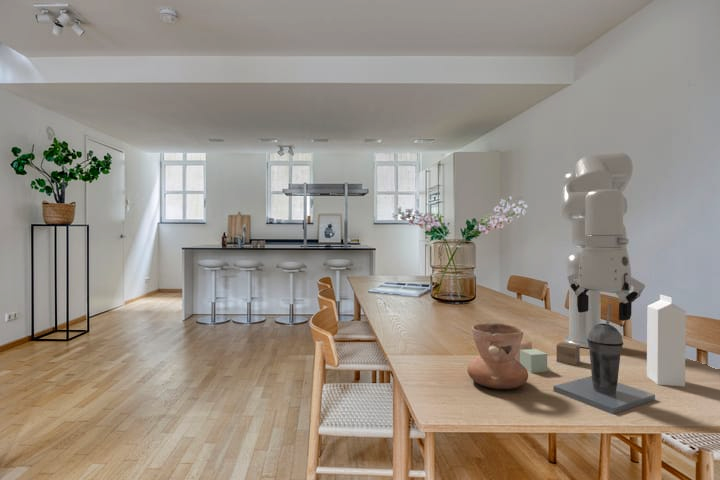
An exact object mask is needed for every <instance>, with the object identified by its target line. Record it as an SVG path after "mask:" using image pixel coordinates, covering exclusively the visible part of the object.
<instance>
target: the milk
mask: <svg viewBox="0 0 720 480" xmlns="http://www.w3.org/2000/svg"><path fill="white" fill-rule="evenodd" d="M646 311H647V312H646V315H647V316H646V320H647V321H646V325H647V326H646V328H647V329H646V377H647V378H648V379H649V380H651V381H652V382H654V383H655V384H656V385H658V386H673V387H681V388H682V387H683V388H684V387H686V325H687V324H686V323H687V322H686V321H687V320H686V317H687V316H686V315H687V313H686V310H685V309H683V308H681V307H680V306H677V305H676V304H673V298H672V296H668V295H664V294H661V293H660V294H659V300H657V301H655V302H653V303H651V304H648V305H647V308H646Z"/></svg>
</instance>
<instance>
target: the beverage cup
mask: <svg viewBox="0 0 720 480" xmlns="http://www.w3.org/2000/svg"><path fill="white" fill-rule="evenodd" d="M611 307H612V305H611V304H608V307H607V314H606V315H607V316H606V322H605V323H601V324H597V325H595V326H594V327H592V328H591V329H590V331H589V333H588V338H587V341H588V347H589V348H588V350H589V360H590V371H591V376H592V383H593V389H594V391H596V392H598V393H602V394H608V395H613V394H616V388H617V383H619V382H618V380H619V371H620V363H621V362H620V361H621V354H622V351H623V345H624V342H623V341H624V340H623V337H622V335H621V333H620V331H619V330H618V329H617V328H616V327H614V325H611V324H610V319H611V318H610V316H611V311H612V310H611Z"/></svg>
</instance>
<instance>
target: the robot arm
mask: <svg viewBox="0 0 720 480" xmlns="http://www.w3.org/2000/svg"><path fill="white" fill-rule="evenodd" d="M633 165H634V164H633V161H632V159H631V157H630V156H629V155H628V154H626V153H624V152H614V153H613V152H612V153H600V154H590V155H586V156H583V157H581V158H580V159H579V160H578V161H577V162H576V164H575V167H574V170H573V171H569V172H567V173H566V174H565V175H564V176H563V177H564V178H563V188H562V189H561V195H560V209H561V215H562V217H563V218H564V219H565V221H569V222H571V225H570V226H571V234H570V235H571V242H572V245H573V246H574V247H575V248H579V249H581V252H574V253H572V254H570V255H569V256H568V257H567V259H566V263H565V264H566V270H567V271H566V272H567V281H568V293H569V294H568V297H569V298H568V300H569V301H568V304H569V305H568V307H569V308H568V327H569V328H568V335H567V336H565V337H564V338H563V342H565V343H571V344H577V345H580V348H584V349H585V348H586V349H589V347H588V341H587V338H588V333H589V331H590V329H591V328H592V327H594V326H595V325H597V324H602V323H601V322H602V321H601V320H602V319H601V315H602V314H601V310H602V309H601V308H602V306H601V303H602V301H601V299H602V298H601V297H602V296H601V295H602V294H601V292H602V293H609V294H616V296H617V297H618V299H619V300H620V301H621V302H619V303H618V320H619V321H622V322H625V321H628V320H630V319H631V317H632V310H633V309H632V303H634V302H635V300H637V299H638V298H639V297H640V296H641V294H642V293H643V291H644V289H645V288H646V285H645V284H644V283H643V282H641V281H639V280H638V279H636V278H634V277H633V276H632V271H631V269H632V268H631V263H630V261H631V260H630V257H629V252H628V249H627V246H628V244H629V239H628V236H627V230H626V226H625V224H624V216H625V215H626V214H627V211H628V201H627V198H626V197H625V196H624V194H623V193H624V191H625V190H626V188H627V187H628V184H629V182H630V180H631V178H632V175H633V171H634V167H633ZM632 287H633V290H632ZM631 290H632V292H630V291H631Z"/></svg>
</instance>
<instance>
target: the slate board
mask: <svg viewBox="0 0 720 480" xmlns="http://www.w3.org/2000/svg"><path fill="white" fill-rule="evenodd" d="M552 391H553V392H555V393H557V394H560V395H562V396H565V397H568V398H570V399H574V400H576V401H578V402H581V403H584V404H587V405H588V406H591V407H594V408H597V409H598V410H601V411H603V412H607V413H609V414H612V415H614V414H617V413H621V412H623V411H627V410H629V409H632V408H635V407H638V406H640V405H644V404H647V403H649V402H653V401H655V400H656V394H655V393H651V392H649V391H645V390H642V389H640V388H637V387H633V386H630V385H627V384H624V383H620V382H617V388H616V394H613V395H608V394H602V393H598V392H596V391H594V389H593V383H592V375H590V376H586V377H583V378H580V379H574V380H572V381H568V382H567V381H566V382H563V383H559V384H555V385H553V390H552Z"/></svg>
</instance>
